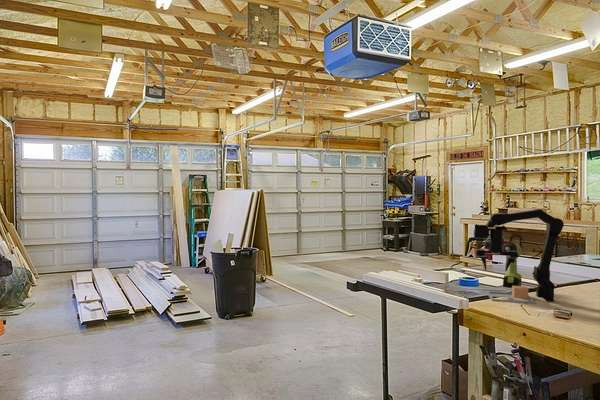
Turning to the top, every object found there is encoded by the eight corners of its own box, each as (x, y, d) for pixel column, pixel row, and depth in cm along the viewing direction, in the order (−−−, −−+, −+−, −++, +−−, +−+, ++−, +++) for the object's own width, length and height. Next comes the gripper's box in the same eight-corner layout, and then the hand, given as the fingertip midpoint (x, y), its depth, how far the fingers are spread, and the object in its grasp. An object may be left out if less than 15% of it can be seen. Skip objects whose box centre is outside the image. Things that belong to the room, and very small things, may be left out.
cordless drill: (513, 295, 215) (514, 245, 215) (498, 293, 220) (499, 243, 219) (522, 287, 234) (523, 240, 233) (507, 285, 238) (508, 239, 237)
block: (525, 295, 209) (525, 286, 208) (528, 298, 204) (528, 288, 204) (511, 294, 210) (512, 285, 210) (514, 297, 205) (514, 288, 205)
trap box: (526, 298, 210) (526, 293, 210) (535, 307, 195) (535, 302, 194) (486, 295, 215) (486, 291, 215) (491, 303, 199) (492, 299, 199)
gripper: (513, 238, 218) (512, 268, 219) (473, 236, 223) (473, 266, 223) (518, 240, 207) (517, 273, 208) (476, 239, 212) (476, 270, 213)
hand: (495, 270), depth 213 cm, fingers open, 9 cm apart
